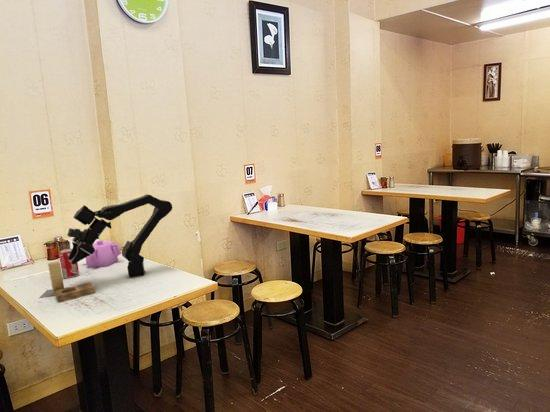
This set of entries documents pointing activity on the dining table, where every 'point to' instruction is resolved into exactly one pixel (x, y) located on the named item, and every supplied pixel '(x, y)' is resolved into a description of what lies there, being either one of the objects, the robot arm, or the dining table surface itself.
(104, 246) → the teakettle
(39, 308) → the dining table surface
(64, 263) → the soda can
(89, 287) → the socket block
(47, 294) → the mat
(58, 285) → the pin
